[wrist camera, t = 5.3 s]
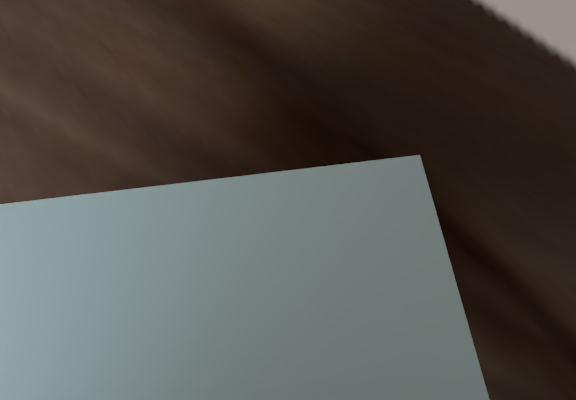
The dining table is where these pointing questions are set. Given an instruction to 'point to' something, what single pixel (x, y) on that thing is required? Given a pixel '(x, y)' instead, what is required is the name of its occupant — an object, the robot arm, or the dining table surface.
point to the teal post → (236, 291)
